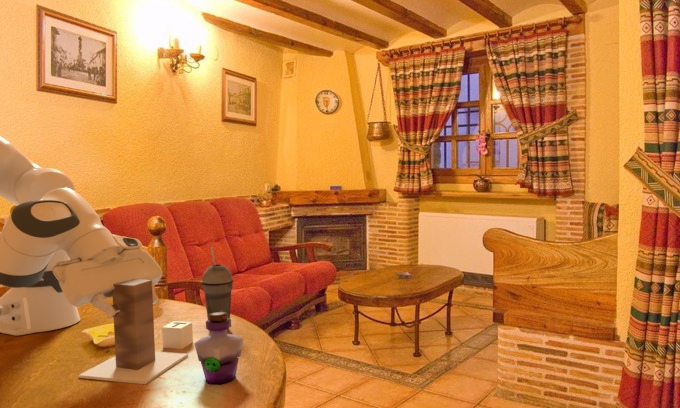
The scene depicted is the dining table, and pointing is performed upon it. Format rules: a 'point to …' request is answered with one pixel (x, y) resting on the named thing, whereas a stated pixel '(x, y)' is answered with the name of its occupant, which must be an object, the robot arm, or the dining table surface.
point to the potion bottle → (219, 350)
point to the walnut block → (134, 324)
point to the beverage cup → (217, 288)
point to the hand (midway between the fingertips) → (135, 308)
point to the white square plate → (140, 376)
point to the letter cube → (177, 334)
